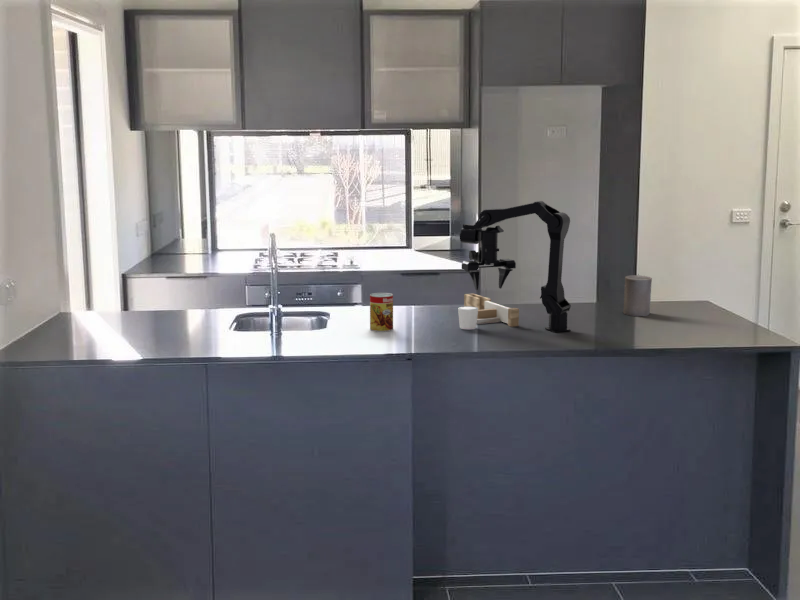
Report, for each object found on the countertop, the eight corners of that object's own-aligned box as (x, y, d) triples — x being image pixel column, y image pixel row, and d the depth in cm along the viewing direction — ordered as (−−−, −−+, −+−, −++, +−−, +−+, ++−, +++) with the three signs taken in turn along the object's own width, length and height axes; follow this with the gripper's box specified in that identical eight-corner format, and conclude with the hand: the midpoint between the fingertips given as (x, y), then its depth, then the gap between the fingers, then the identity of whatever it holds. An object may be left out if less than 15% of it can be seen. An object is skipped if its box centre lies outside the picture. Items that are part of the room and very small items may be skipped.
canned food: (390, 331, 318) (390, 296, 316) (367, 330, 319) (367, 296, 317) (395, 327, 325) (395, 292, 323) (372, 326, 327) (372, 292, 325)
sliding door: (513, 323, 329) (513, 309, 329) (490, 326, 326) (490, 311, 325) (487, 314, 346) (488, 300, 345) (466, 316, 342) (466, 302, 341)
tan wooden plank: (519, 325, 328) (520, 308, 327) (488, 328, 323) (488, 311, 322) (473, 309, 358) (473, 293, 357) (443, 311, 353) (443, 295, 352)
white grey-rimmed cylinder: (478, 329, 321) (478, 309, 320) (458, 329, 321) (458, 309, 320) (477, 325, 328) (477, 306, 327) (457, 325, 328) (457, 305, 327)
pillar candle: (617, 312, 352) (619, 272, 349) (638, 310, 356) (640, 271, 353) (634, 317, 343) (636, 276, 340) (655, 315, 347) (657, 274, 344)
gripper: (502, 241, 340) (501, 284, 342) (455, 243, 333) (454, 287, 336) (517, 244, 329) (516, 288, 332) (468, 247, 323) (468, 292, 325)
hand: (488, 289), depth 332 cm, fingers open, 9 cm apart
